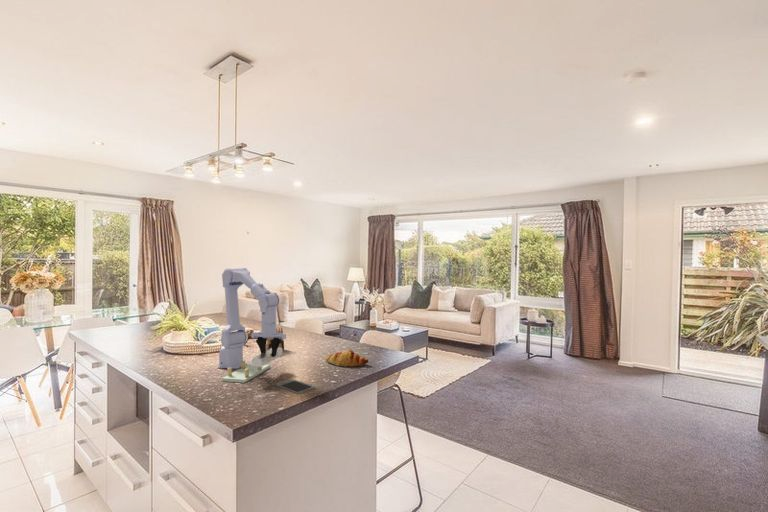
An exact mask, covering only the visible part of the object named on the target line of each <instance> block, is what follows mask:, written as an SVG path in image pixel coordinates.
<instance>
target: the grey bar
mask: <svg viewBox="0 0 768 512" xmlns="http://www.w3.org/2000/svg"><path fill="white" fill-rule="evenodd" d="M281 357H283V350H282V348H280V347H278V349H277V353H276V356H274V357H272V348H271V349H270V350H268V351H266V352H264V353H262V354H261V353H260V354H258V355H256V356H254V357H252V358H251V364H252V366H258V367H262V366H264V365H268V364H269V363H270V362H272V361H274V360H276V359H278V358H281Z"/></svg>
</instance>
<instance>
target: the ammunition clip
mask: <svg viewBox="0 0 768 512" xmlns="http://www.w3.org/2000/svg"><path fill="white" fill-rule="evenodd" d="M276 333H283V334H284V330H283V327H281V328H280V327H278V328H277V327H276ZM270 340H272V338H267V342H266V351H268V350H270V349H271V348H272V346H271V342H270ZM284 340H285V339H282V340H281V342H280V344H279V346H278V347H280V348H282V351H284V350H285V341H284Z"/></svg>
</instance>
